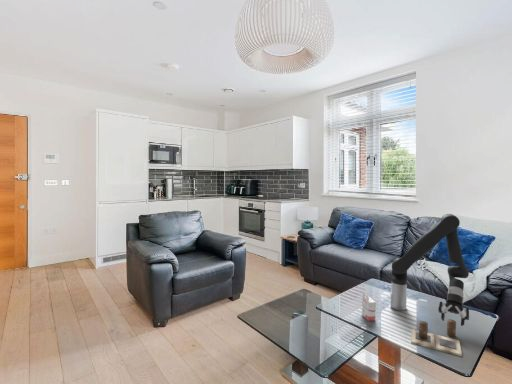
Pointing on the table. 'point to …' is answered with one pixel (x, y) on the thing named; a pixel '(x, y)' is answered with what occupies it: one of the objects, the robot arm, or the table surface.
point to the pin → (423, 329)
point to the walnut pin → (451, 328)
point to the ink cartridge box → (368, 308)
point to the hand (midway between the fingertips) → (452, 322)
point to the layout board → (437, 342)
